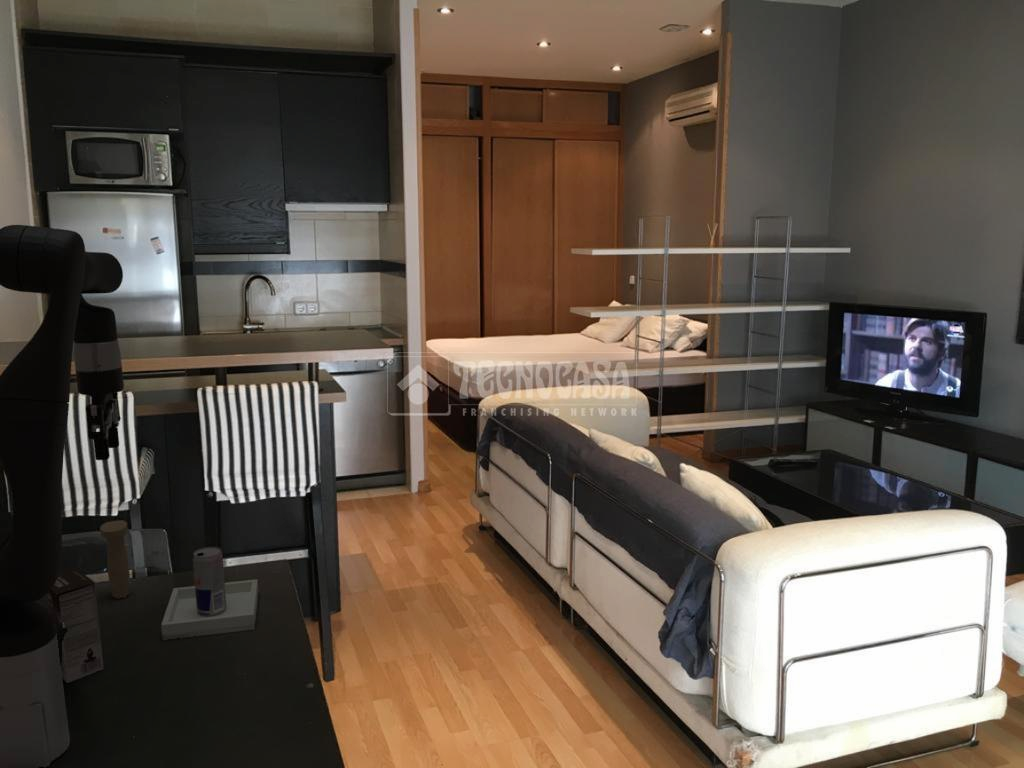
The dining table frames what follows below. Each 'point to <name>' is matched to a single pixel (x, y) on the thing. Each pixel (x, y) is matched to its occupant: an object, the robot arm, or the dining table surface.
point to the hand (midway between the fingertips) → (107, 453)
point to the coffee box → (77, 624)
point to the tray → (189, 623)
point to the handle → (117, 557)
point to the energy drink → (209, 581)
